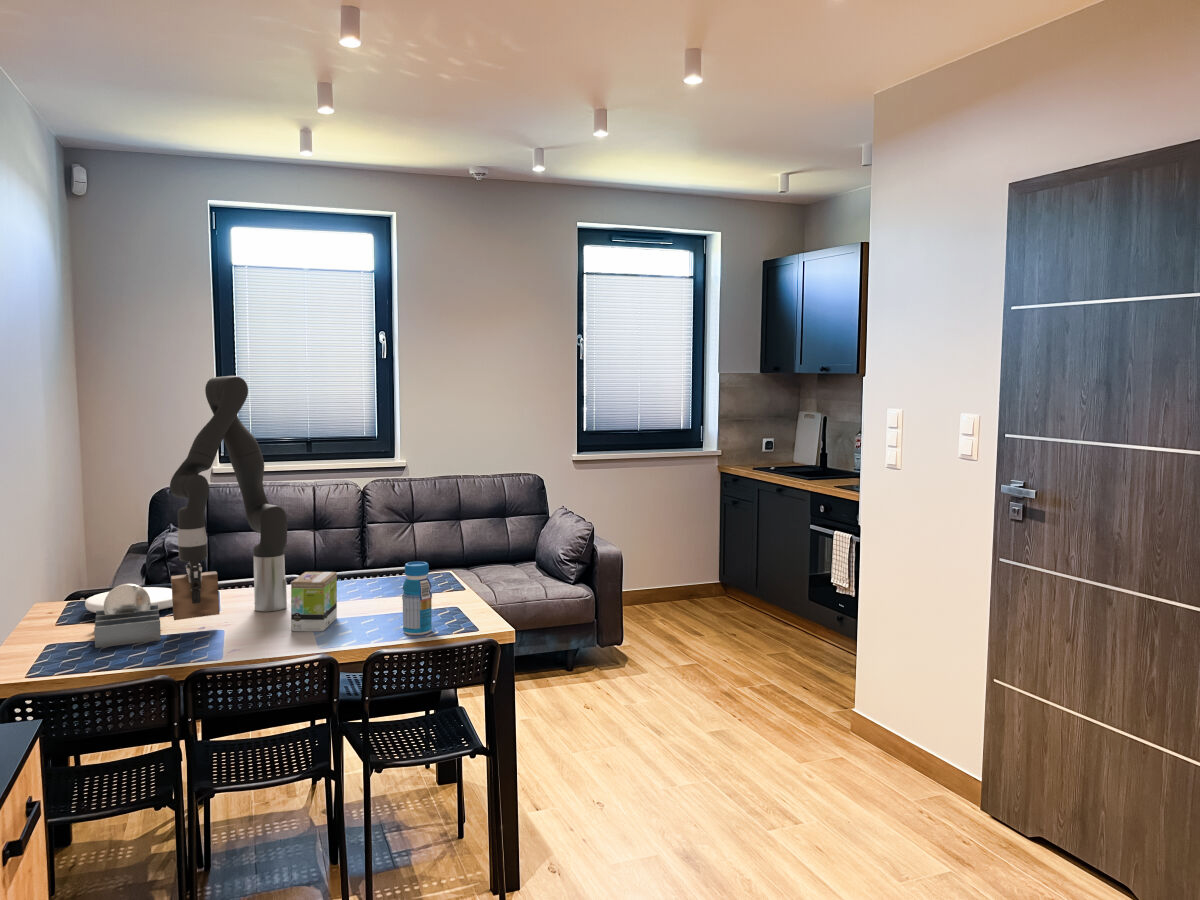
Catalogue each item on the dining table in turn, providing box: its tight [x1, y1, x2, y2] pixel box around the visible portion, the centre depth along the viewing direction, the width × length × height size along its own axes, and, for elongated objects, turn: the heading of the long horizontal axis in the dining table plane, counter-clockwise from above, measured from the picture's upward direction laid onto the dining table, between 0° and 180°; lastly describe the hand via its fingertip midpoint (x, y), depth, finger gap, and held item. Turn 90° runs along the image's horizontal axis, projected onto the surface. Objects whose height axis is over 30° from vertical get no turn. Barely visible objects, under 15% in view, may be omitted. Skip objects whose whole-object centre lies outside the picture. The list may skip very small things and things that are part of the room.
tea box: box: [290, 571, 338, 632], centre depth 265 cm, size 15×10×15 cm, turn 3°
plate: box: [84, 586, 173, 614], centre depth 283 cm, size 28×6×27 cm
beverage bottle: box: [401, 561, 433, 636], centre depth 258 cm, size 8×8×20 cm
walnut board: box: [170, 570, 220, 621], centre depth 259 cm, size 12×4×12 cm, turn 119°
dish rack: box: [93, 583, 162, 649], centre depth 254 cm, size 16×20×13 cm
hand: (195, 600), depth 260 cm, fingers closed on walnut board, 4 cm apart
